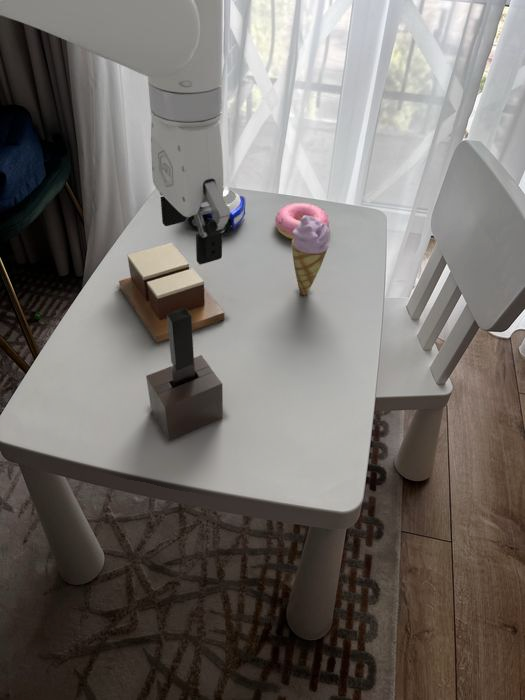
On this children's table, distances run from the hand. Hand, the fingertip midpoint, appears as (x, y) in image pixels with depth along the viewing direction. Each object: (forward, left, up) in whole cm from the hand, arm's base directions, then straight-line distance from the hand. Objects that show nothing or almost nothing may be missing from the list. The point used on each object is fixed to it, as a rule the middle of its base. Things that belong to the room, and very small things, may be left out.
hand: (191, 241), depth 68 cm
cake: (+2, +17, -19) cm, 26 cm away
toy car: (+21, +33, -21) cm, 44 cm away
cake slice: (+2, +10, -19) cm, 22 cm away
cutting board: (+2, +13, -20) cm, 24 cm away
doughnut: (+35, +22, -21) cm, 46 cm away
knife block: (-6, -10, -20) cm, 23 cm away
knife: (-6, -10, -20) cm, 23 cm away
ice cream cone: (+24, +5, -21) cm, 32 cm away
